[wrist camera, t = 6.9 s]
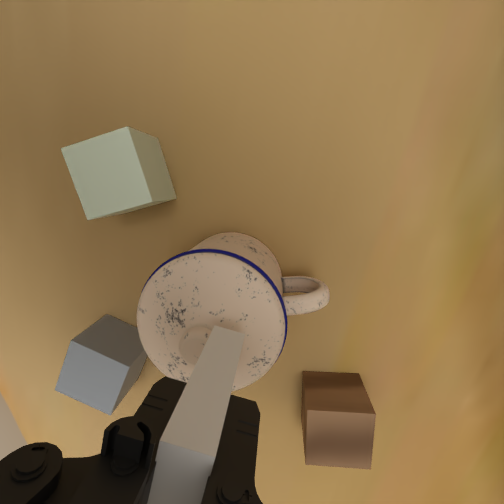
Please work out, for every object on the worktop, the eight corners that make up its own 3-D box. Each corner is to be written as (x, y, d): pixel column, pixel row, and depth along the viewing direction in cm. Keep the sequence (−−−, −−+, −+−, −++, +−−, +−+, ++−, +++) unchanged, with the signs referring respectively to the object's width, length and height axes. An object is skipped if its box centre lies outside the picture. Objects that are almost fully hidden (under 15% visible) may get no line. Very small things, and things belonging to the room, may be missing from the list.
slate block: (107, 313, 28) (71, 340, 23) (155, 335, 28) (129, 367, 23) (92, 356, 29) (54, 389, 24) (138, 377, 29) (110, 415, 24)
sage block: (103, 155, 25) (60, 148, 20) (158, 138, 24) (127, 126, 19) (123, 213, 26) (87, 220, 21) (177, 198, 25) (152, 201, 20)
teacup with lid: (192, 332, 28) (130, 434, 16) (173, 235, 26) (88, 274, 14) (324, 320, 26) (357, 423, 15) (313, 217, 24) (342, 244, 13)
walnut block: (302, 370, 27) (307, 410, 23) (358, 373, 27) (375, 413, 22) (301, 417, 29) (305, 464, 24) (355, 420, 28) (370, 469, 23)
